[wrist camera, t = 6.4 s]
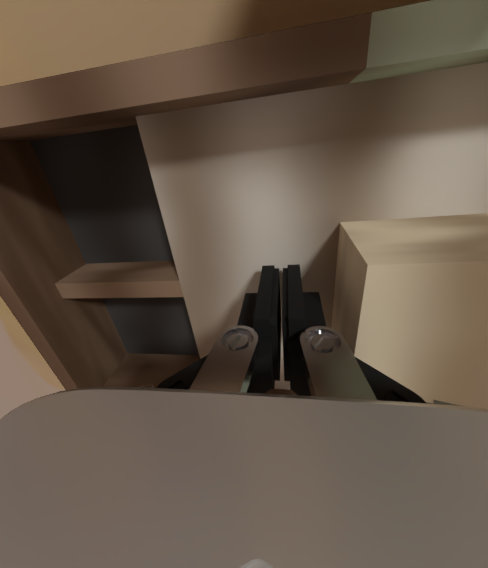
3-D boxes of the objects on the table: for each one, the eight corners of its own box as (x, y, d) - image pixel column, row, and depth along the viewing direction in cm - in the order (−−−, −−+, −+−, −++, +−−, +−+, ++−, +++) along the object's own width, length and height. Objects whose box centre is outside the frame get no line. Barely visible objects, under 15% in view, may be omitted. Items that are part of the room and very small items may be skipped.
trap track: (652, 12, 8) (1052, -125, 4) (474, 370, 17) (539, 451, 12) (10, 120, 13) (-128, 112, 9) (123, 357, 21) (82, 413, 17)
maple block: (546, 209, 9) (710, 253, 5) (485, 337, 12) (566, 418, 8) (340, 222, 10) (367, 265, 7) (330, 335, 13) (346, 405, 10)
